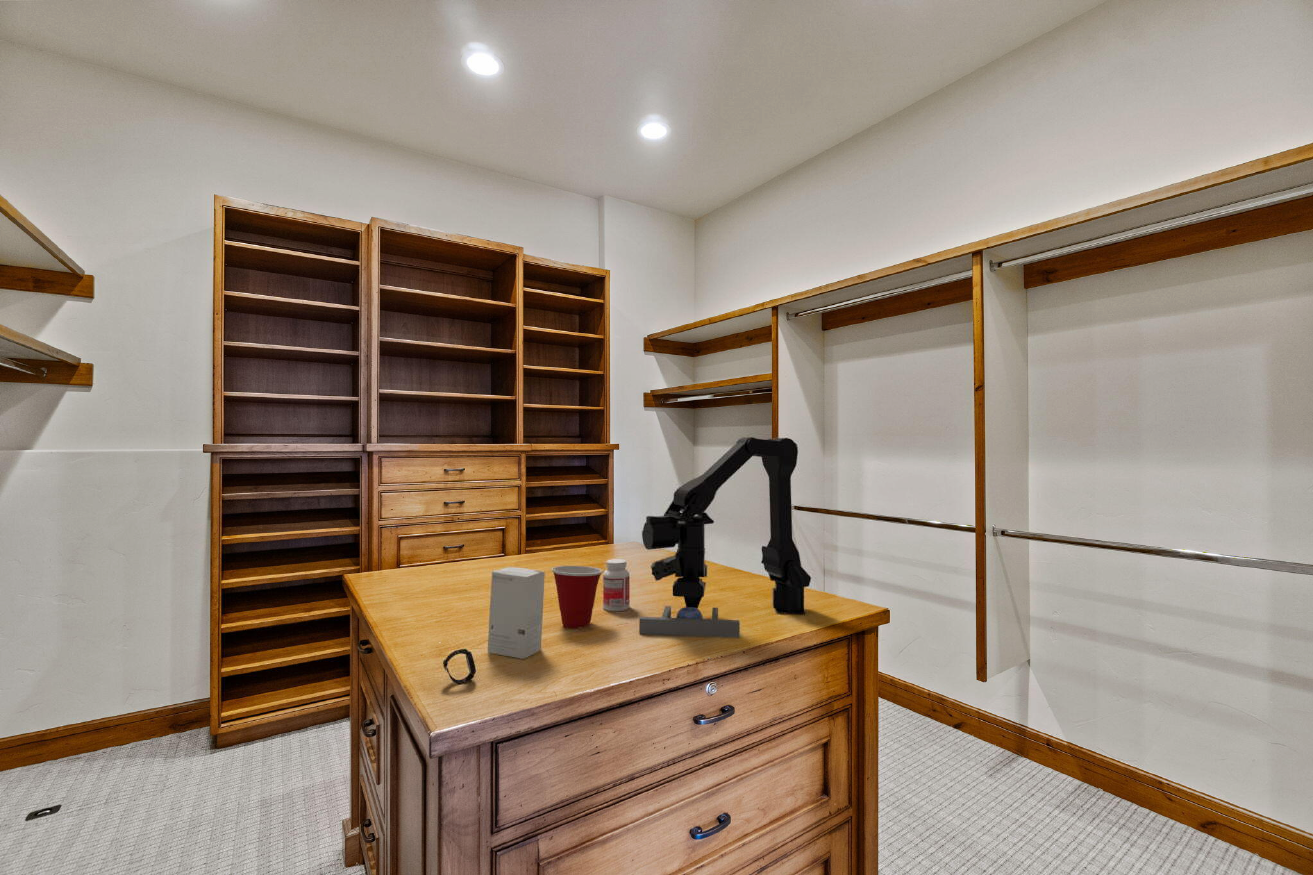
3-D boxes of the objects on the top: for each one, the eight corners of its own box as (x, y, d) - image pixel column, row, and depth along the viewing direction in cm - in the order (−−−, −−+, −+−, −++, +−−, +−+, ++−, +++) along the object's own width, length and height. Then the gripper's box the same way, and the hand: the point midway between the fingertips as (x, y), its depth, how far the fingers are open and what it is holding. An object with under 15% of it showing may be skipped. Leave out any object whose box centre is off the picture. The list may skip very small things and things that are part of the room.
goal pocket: (738, 622, 121) (738, 608, 121) (739, 637, 111) (739, 622, 111) (645, 618, 124) (646, 605, 124) (639, 633, 114) (639, 618, 114)
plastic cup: (613, 624, 120) (613, 567, 120) (573, 636, 112) (573, 575, 112) (580, 613, 127) (581, 560, 128) (540, 624, 119) (541, 567, 120)
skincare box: (486, 653, 102) (487, 571, 103) (507, 643, 108) (508, 565, 108) (525, 660, 99) (526, 575, 100) (544, 649, 105) (545, 568, 105)
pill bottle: (619, 603, 136) (619, 557, 137) (634, 608, 132) (634, 561, 132) (597, 607, 132) (598, 560, 133) (612, 613, 128) (613, 564, 128)
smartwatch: (473, 686, 88) (473, 654, 88) (439, 687, 88) (440, 655, 88) (479, 675, 92) (479, 645, 93) (447, 676, 92) (447, 646, 92)
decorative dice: (689, 624, 120) (689, 605, 120) (703, 629, 116) (703, 609, 117) (675, 628, 117) (675, 609, 117) (688, 633, 114) (688, 613, 114)
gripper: (659, 536, 131) (659, 603, 131) (647, 554, 112) (647, 632, 112) (707, 537, 129) (707, 605, 129) (703, 555, 111) (703, 634, 111)
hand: (691, 618), depth 121 cm, fingers closed
